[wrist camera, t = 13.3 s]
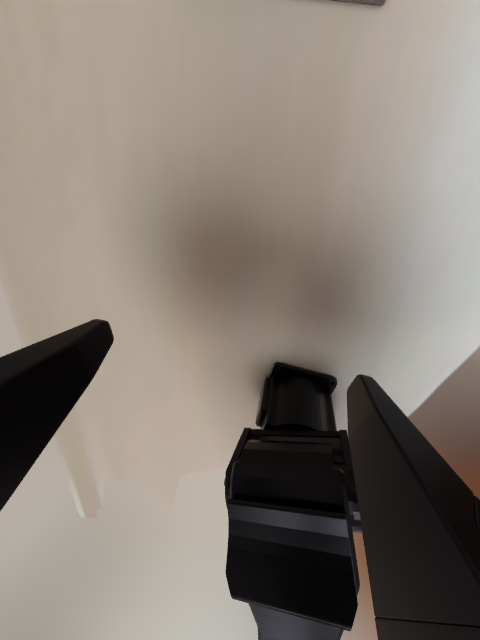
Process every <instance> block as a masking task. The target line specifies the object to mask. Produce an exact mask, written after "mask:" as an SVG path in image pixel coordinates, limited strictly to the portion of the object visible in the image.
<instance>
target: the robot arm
mask: <svg viewBox="0 0 480 640" xmlns="http://www.w3.org/2000/svg"><path fill="white" fill-rule="evenodd" d="M113 340H114V337H113V334H112V330H111V327H110V324H109V323H108V322H107V321H104V320H100V319H94V320H92V321H89V322H87V323H84V324H82V325H79V326H77V327H74V328H72V329H69V330H67V331H65V332H62V333H60V334H57V335H55V336H52V337H50V338H47V339H45V340H42V341H40V342H37V343H35V344H32V345H30V346H27V347H25V348H22V349H20V350H18V351H15V352H12V353H10V354H8V355H5V356H3V357H0V510H2V508H3V507H4V506H5V504H6V503H7V501H8V500H9V498H10V497H11V495H12V494H13V493H14V491H15V490H16V488H17V487H18V485H19V484H20V483H21V481H22V480H23V478H24V477H25V475H26V474H27V473H28V471H29V470H30V468H31V467H32V465H33V464H34V463H35V461H36V460H37V458H38V457H39V455H40V454H41V452H42V451H43V450H44V448H45V447H46V445H47V444H48V442H49V441H50V440H51V438H52V437H53V435H54V434H55V432H56V431H57V430H58V428H59V427H60V425H61V424H62V422H63V421H64V420H65V418H66V417H67V415H68V414H69V412H70V411H71V410H72V408H73V407H74V405H75V404H76V402H77V401H78V400H79V398H80V397H81V395H82V394H83V392H84V391H85V389H86V388H87V387H88V385H89V384H90V382H91V381H92V379H93V378H94V376H95V374H96V373H97V371H98V369H99V367H100V365H101V363H102V362H103V360H104V358H105V356H106V354H107V353H108V351H109V349H110V347H111V345H112V343H113ZM277 367H279V368H277ZM336 385H337V380H336V378H334V377H331V376H327V375H323V374H320V373H316V372H312V371H308V370H304V369H300V368H297V367H293V366H289V365H285V364H281V363H275V364H274V365H273V368H272V371H271V374H270V377H269V378H266V379H265V381H264V384H263V387H262V390H261V394H260V400H259V406H258V411H257V417H256V425H257V426H259V427H261V429H251V428H244V431H243V433H242V435H241V437H240V439H239V442H238V444H237V446H236V449H235V451H234V453H233V456H232V458H231V461H230V463H229V465H228V468H227V470H226V478H225V481H224V485H225V499H226V505H227V509H228V517H229V538H228V552H227V563H226V577H227V581H228V586H229V590H230V594H231V597H232V598H233V599H236V600H239V601H243V602H246V603H249V606H250V608H251V611H252V613H253V616H254V618H255V621H256V623H257V626H258V640H340V638H341V636H342V633H343V630H347V631H351V628H352V625H353V622H354V618H355V614H356V611H357V606H358V604H357V594H358V591H359V586H360V582H359V574H358V567H357V560H356V553H355V546H354V539H353V532H352V531H354V532H358V533H363V540H364V546H365V553H366V559H367V566H368V573H369V580H370V587H371V593H372V600H373V606H374V614H375V616H376V618H375V621H376V628H377V635H378V640H480V500H479V499H478V497H477V496H475V495H473V492H472V491H471V490H470V489H469V487H468V486H467V485H466V484H465V483H464V482H463V481H462V479H461V478H460V477H459V476H458V475H457V474H456V472H455V471H454V470H453V469H452V468H451V467H450V466H449V465H448V464H447V462H446V461H445V460H444V459H443V458H442V457H441V455H440V454H439V453H438V452H437V451H436V450H435V448H434V447H433V446H432V445H431V444H430V443H429V442H428V441H427V439H426V438H425V437H424V436H423V435H422V434H421V433H420V431H419V430H418V429H417V428H416V427H415V426H414V424H413V423H412V422H411V421H410V420H409V419H408V418H407V416H406V415H405V414H404V413H403V412H402V411H401V410H400V408H399V407H398V406H397V405H396V404H395V403H394V402H393V400H392V399H391V398H390V397H389V396H388V395H387V394H386V392H385V391H384V390H383V389H382V388H381V387H380V386H379V384H378V383H377V382H376V381H375V380H374V379H373V378H372V377H370V376H366V375H361V374H359V375H357V376H356V378H355V379H354V380H353V382H352V383H351V385H350V386H349V388H348V390H347V413H348V435H347V430H339V431H337V430H336V423H335V416H334V410H333V403H332V397H331V394H332V392H333V391H334V389H335V387H336ZM348 437H349V439H348Z"/></svg>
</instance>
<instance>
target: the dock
mask: <svg viewBox="0 0 480 640" xmlns="http://www.w3.org/2000/svg"><path fill="white" fill-rule="evenodd" d="M337 1H347V2H356V3H366V4H375V5H383V4H384V2H385V0H337Z"/></svg>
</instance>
